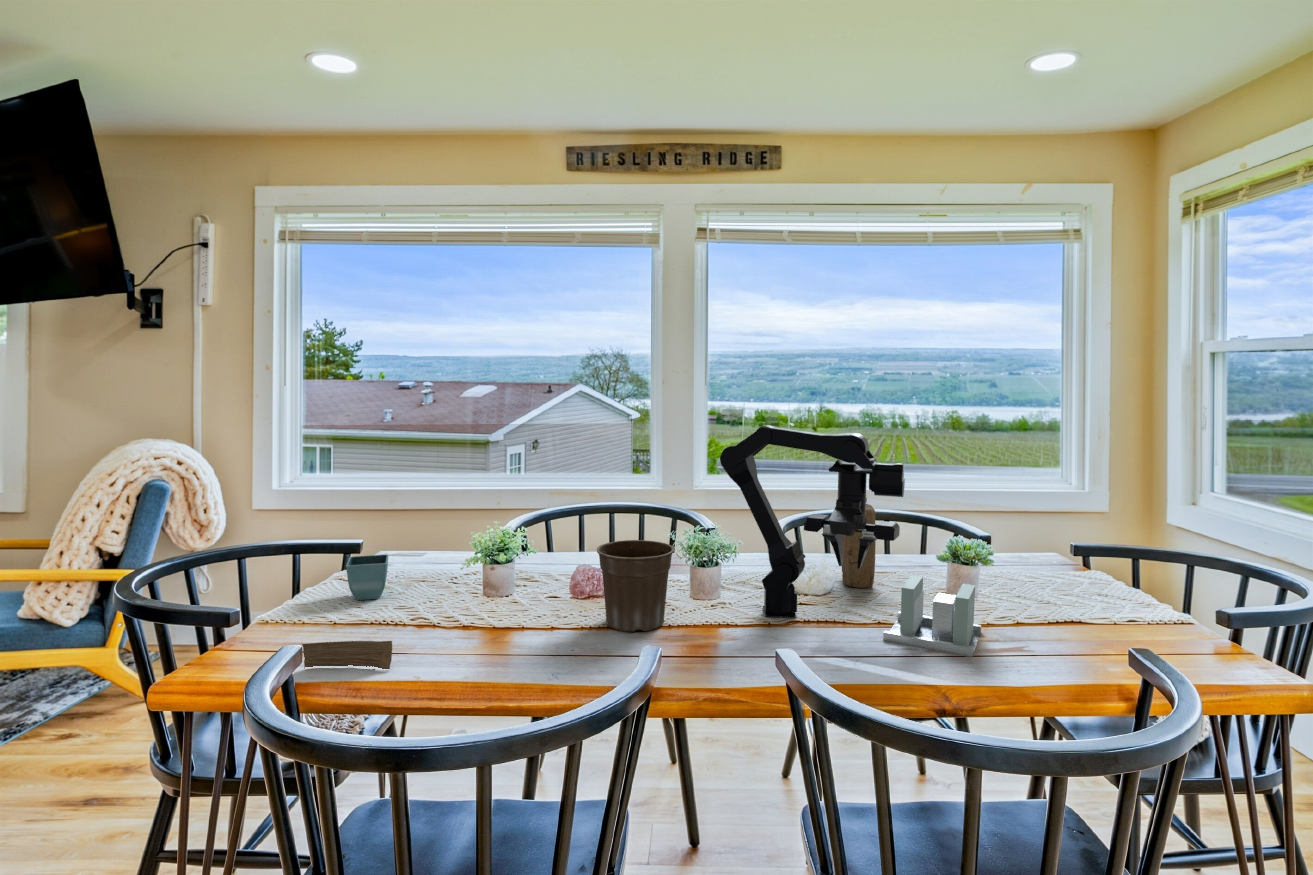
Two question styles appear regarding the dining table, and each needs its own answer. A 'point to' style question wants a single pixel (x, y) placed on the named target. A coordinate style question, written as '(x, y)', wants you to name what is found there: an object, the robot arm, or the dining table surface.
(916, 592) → the bar
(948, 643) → the vise base
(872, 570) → the block
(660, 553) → the plant pot
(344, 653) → the wood plank
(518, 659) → the dining table surface
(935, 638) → the steel block
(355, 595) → the flower pot
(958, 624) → the fixed jaw
